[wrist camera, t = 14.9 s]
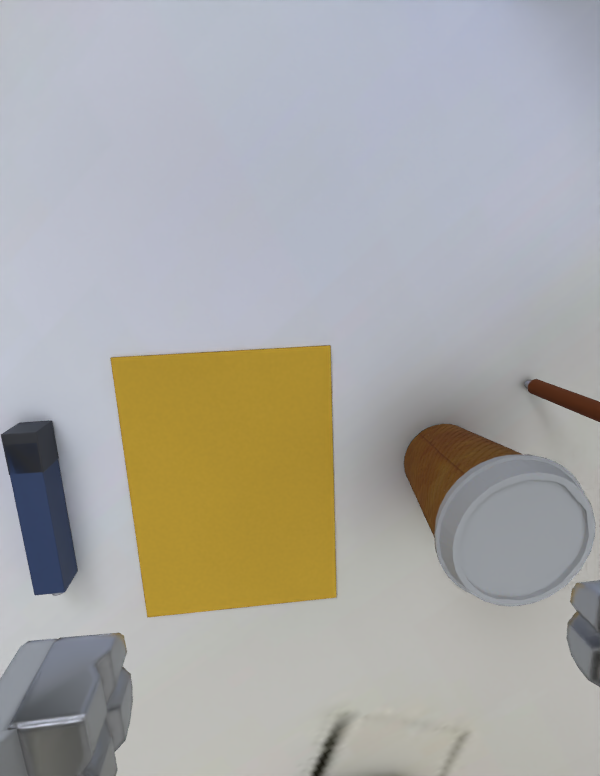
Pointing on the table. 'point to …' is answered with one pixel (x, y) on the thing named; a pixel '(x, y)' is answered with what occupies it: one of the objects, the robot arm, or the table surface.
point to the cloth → (230, 476)
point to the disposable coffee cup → (499, 515)
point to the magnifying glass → (565, 398)
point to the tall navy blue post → (41, 505)
